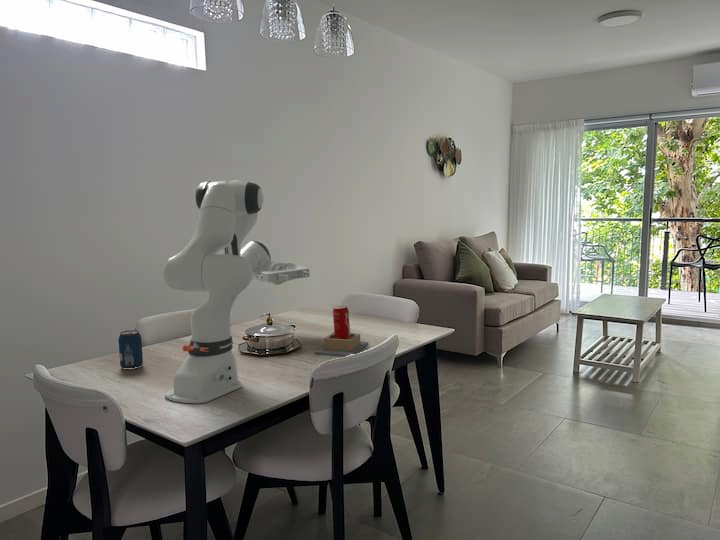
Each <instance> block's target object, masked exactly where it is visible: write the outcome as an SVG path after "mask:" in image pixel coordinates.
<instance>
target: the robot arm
mask: <svg viewBox="0 0 720 540" xmlns="http://www.w3.org/2000/svg"><path fill="white" fill-rule="evenodd" d="M195 189H196V190H195V204H196V206H197V208H198V209H199V212H198V213H199V214H198V218H197V224H196V227H195V230H194V233H193V235H192V238H191V239H190V241H189V242H188V243H187V244H186V246H184V248H183V249H182V250H181V251H179V252H177V253H175V254H174V255H173V256H171V257H169V258H168V260H167V261H166V262H165V264H164V266H163V270H162V271H163V272H162V276H163V281H164V282H165V285H166V286H167V287H168V288H169V289H171V290H175V291H180V292H184V293H185V292H186V293H208V300H207V301H206V302H204V303H202V304H201V305H199V306H197V307H196V308H195V309H194V310H193V311H192V312H191V315H190V327H191V328H190V330H191V339H190V342H189V344H185V343H184V344H183V345H182V348H181V350H182V351H183V352H187V353H188V355H187V356H186V358H185V359H184V361H183V362H182V363H181V365H180V367H179V368H178V369H177V371H176V372H175V374H174V376H173V388H171V389H170V390H168V391H167V392H165V393H164V398H165V399H166V398H167V399H166V400H168V399H169V400H168V401H171V400H172V402H177V403H184V404H186V403H187V404H203V403H208V402H210V401H212V400H215V399H217V398H219V397H222V396H224V395H226V394H229V393H231V392H233V391H235V390H237V389H240V388H242V386H243V385H242V382H241V381H240V380H239V375H238V374H239V373H238V365H237V359H236V357H235V355H234V353H233V351H232V349H233V342H234V341H233V337H232V335H231V315H232V314H231V313H232V309H233V305H234V303H235V301H236V299H237V298H238V296H239V295H240V294H241V293H242V292H243V291H245V290H246V289H247V288H248V287H249V286H250V284H251V282H252V280H253V281H254V282H259V283H264V284H265V283H267V284H270V285H275V286H276V285H277V286H279V285H280V286H281V285H282V284H285V283H287V282H289V281H293V280H297V279H305V278H306V279H307V278H310V277H311V276H310V269H309V267H308V266H307V267H306V266H302V265H295V263H286V262H285V263H284V262H280V261H279V262H277V261H272V257H271V253H270V251H269V249H268V248H267V246H266V245H265V244H263V243H262V242H259V241H256V240H249V241H248V242H247V243H246V244H245V245H244V246H243V247H241V245H242V243H243V241H244V240H245V238H246V236H247V235H248V234H249V233H250V231H251V230H252V229H254V227H255V225H256V223H257V221H258V213H259V211H260V210H262V206H263V204H264V194H263V191H262V188H261V186H259V185H258V184H257V183H256V182H255V183H254V182H250V181H249V182H246V181H243V180H241V179H234V180H219V181H217V180H216V181H211V180H210V181H209V180H208V181H203V182H201V183H200V184H199V185H198V186H197V187H196V188H195ZM222 250H223V251H224V254H223V253H222V254H218V253H219V252H220V251H222Z"/></svg>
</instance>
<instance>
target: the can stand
mask: <svg viewBox="0 0 720 540" xmlns="http://www.w3.org/2000/svg"><path fill="white" fill-rule="evenodd" d="M322 341H323V346H322V347H320V348H319V349H316V350H315V351H314V354H315V355H320V356H321V355H322V356H333V357H342V356H347V355H350V354H355V353H357V352H358V353H359V352H360V351H362V350H363V349H364V348H365V347H367V346H368V345H369V341H361V334H360V333H353V332H350V339H349V340H345V339H335V333H334V331H333V332H332V333H330V334H328V335H327V336H325V337H324V338H323V340H322ZM358 353H357V354H358ZM355 355H356V354H355Z"/></svg>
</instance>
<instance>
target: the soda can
mask: <svg viewBox="0 0 720 540" xmlns="http://www.w3.org/2000/svg"><path fill="white" fill-rule="evenodd" d="M142 342H143V341H142V335H141V334H140V330H135V329H133V330H129V329H128V330H125V331H121V332H120V333H119V337H118V352H119V364H120V367H121V369H122V368H135V367H139V366H141V365H142V366H143V364H144V358H143V343H142ZM142 366H141V367H142Z"/></svg>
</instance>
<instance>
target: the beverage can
mask: <svg viewBox="0 0 720 540" xmlns="http://www.w3.org/2000/svg"><path fill="white" fill-rule="evenodd" d="M332 320H333V332H334V333H335V339H345V340H349V339H350V333H351V328H350V325H351V323H350V313H349V308H348V306H347V305H337V306H333V308H332Z"/></svg>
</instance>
